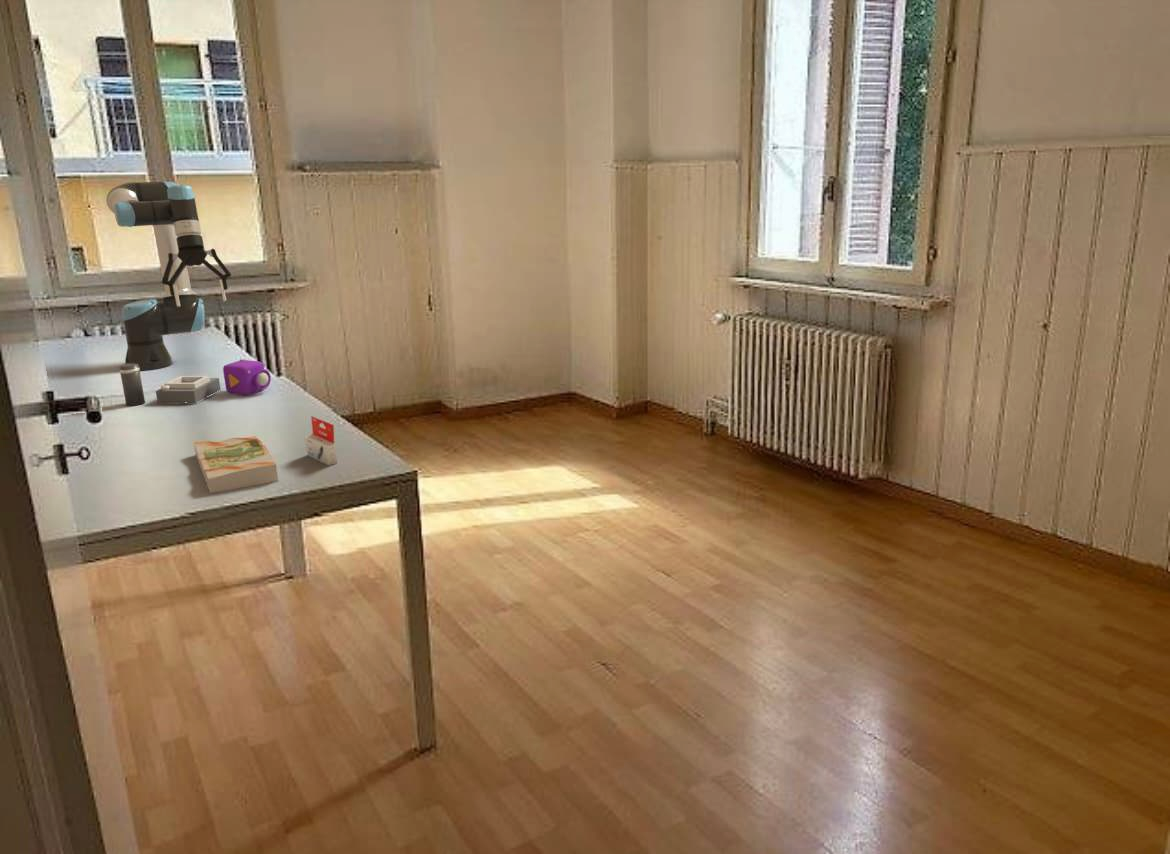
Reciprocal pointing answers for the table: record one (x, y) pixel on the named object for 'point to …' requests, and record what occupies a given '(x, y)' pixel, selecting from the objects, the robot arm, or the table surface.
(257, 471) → the topographic model
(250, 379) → the toy camera
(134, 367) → the dark grey cylinder
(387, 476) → the table surface
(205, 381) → the block
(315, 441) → the ink cartridge box
